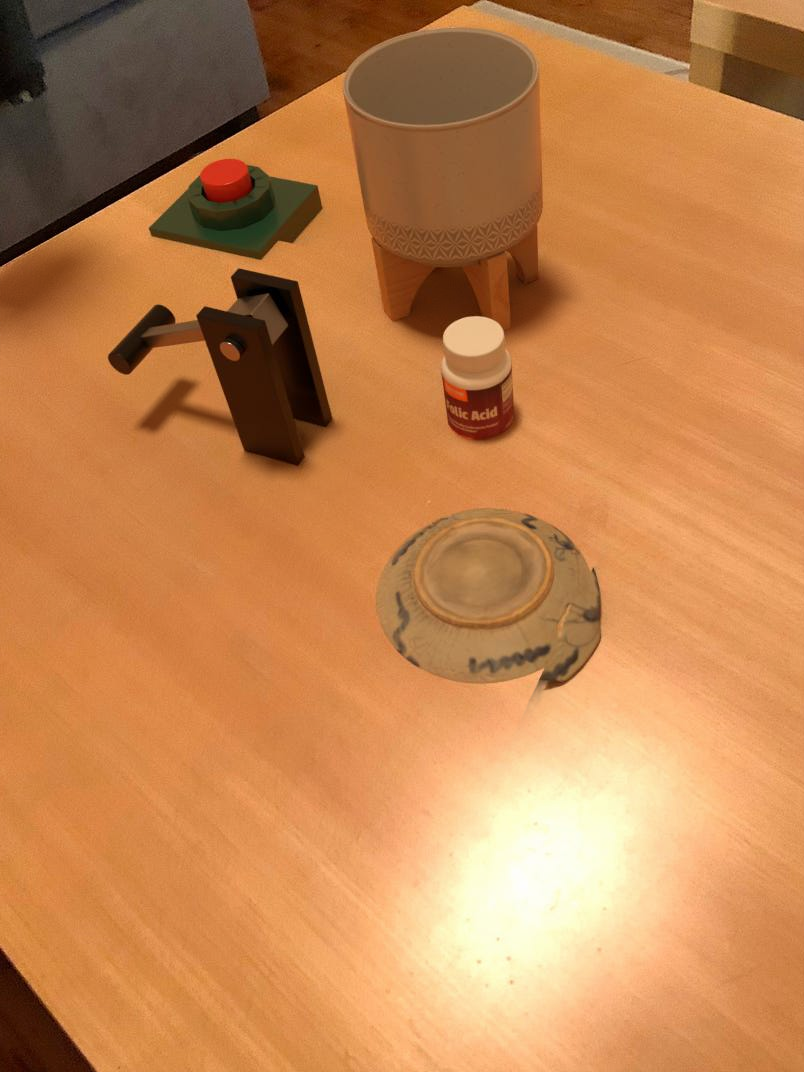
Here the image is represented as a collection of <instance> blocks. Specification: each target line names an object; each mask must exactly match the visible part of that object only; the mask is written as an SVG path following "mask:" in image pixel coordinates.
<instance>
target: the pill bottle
mask: <svg viewBox="0 0 804 1072" xmlns="http://www.w3.org/2000/svg"><path fill="white" fill-rule="evenodd" d="M442 347H443V355H444V356H443V357H442V360H441V364H440V374H441V380H442V381H441V382H442V387H443V389H442V390H443V396H444V402H445V403H444V404H445V409H446V410H445V411H446V419H447V424H448V426H449V428H450V429H451V431H452V432H453V433H455V435H457V436H459V437H461V438H464V439H468V440H474V441H481V440H483V441H484V440H489V439H492V438H495V437H497V436H501V435H502V434H504V433H505V432H507V430H508V429H509V428H510V427H511V425H512V424H513V422H514V421H515V414H516V413H515V402H514V383H513V361H512V358H511V357H512V356H511V355H510V353H509V351H508V350H507V348H506V338H505V330H504V331H503V329H502V327H501V326H500V325H499V324H498V323H497V322H496V321H494V320H492V319H490V318H487V317H483V316H479V315H475V316H465V317H462V318H460V319H459V318H458V319H457V320H455V321H453V322H451V324H449V325H448V326H447V327H446V329H445V330H444V332H443V335H442Z"/></svg>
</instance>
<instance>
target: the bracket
mask: <svg viewBox="0 0 804 1072" xmlns="http://www.w3.org/2000/svg"><path fill="white" fill-rule="evenodd" d="M230 280H231V283H232V286H233V290H234V293H235V297H236V300H237V299H239V298H244V297H250V296H256V295H262V294H268V293H269V294H270V296H271V297H272V299H273V301H274V302H275V304H276V306H277V307H278V309H279V310H280V312H281V314H282V315H283V317H284V319H285V320H286V322H287V323H288V326H287V328H286V329H285V330H284V331H283V333H282V334H281V335H280V336H279V338H278V339H277V340H276V341H275V342H274V344H273V345H272V343H271V339H270V336H269V332H268V329H267V326H266V322H265V320H261V319H257V318H252V317H248V316H244V315H240V314H236V313H231V312H227V311H228V310H223V309H219V308H214V307H209V306H206V305H205V306H203V307H202V308H201V309H200V310H199V312H198V313H196V314H195V315H196V316H195V317H196V320H198V322H199V325H200V328H201V331H202V334H203V337H204V339H205V341H204V342H205V345H206V347H207V350H208V353H209V357H210V358H211V361H212V364H213V368H214V370H215V373H216V376H217V379H218V381H219V385H220V387H221V390H222V393H223V396H224V398H225V402H226V404H227V406H228V409H229V412H230V415H231V417H232V420H233V423H234V426H235V429H236V432H237V434H238V438H239V440H240V443H241V445H242V448H243V451H244V452H245V453H251V454H253V455H257V456H261V457H265V458H267V459H271V460H275V461H279V462H281V463H285V464H288V465H292V466H295V467H299V466H300V465H301V463H302V461H303V460H304V459H305V458H306V455H305V451H304V449H303V446H302V445H303V444H302V441H301V439H300V434H299V431H298V429H297V425H296V421H300V422H303V423H307V424H311V425H315V426H318V427H322V428H327V427H328V426H329V424H330V423H331V422H332V420H333V414H332V411H331V407H330V403H329V398H328V395H327V391H326V388H325V383H324V379H323V375H322V372H321V368H320V363H319V359H318V355H317V352H316V348H315V344H314V339H313V336H312V332H311V328H310V325H309V324H310V323H309V320H308V315H307V312H306V308H305V304H304V300H303V296H302V292H301V288H300V284H299V280H294V279H290V278H285V277H280V276H276V275H271V274H266V273H262V272H258V271H254V270H249V269H245V268H239V267H238V268H237V269H236V270H235V271H234V272H233V274H232V275H231V276H230ZM295 420H296V421H295Z"/></svg>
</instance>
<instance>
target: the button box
mask: <svg viewBox="0 0 804 1072" xmlns="http://www.w3.org/2000/svg"><path fill="white" fill-rule="evenodd" d="M246 165H247V167H248V170H249V174H250V178H251V181H252V185H253V188H252V191H251V192H250V193H249V194H248V195H247V196H245V197H243V198H241V199H238V200H236V201H232V202H224V203H217V202H212V201H209V200H208V199H207V197H206V194H205V191H204V188H203V185H202V181H201V178H200V174H199V175H198V176H197V177H196V178H195V179H194V180H193V181H192V182H191V183H190V184H189V185H188V188H187V189H186V190H185V191H184V192H183V193H182V194H181V195H180V196H178V198H177V199H176V200H175V201H174V202H173V203H172V204H171V205H170V206H169V207H168V208H167V209H166V210H165V211H164V212H163V213H162V214H161V215H160V216H159V217H158V218H157V219H156V220H155V221H154V222H153V223H152V224H151V225H150V226H149V227H148V231H149V233H150V236H151V237H153V238H158V239H163V240H168V241H172V242H177V243H182V244H186V245H189V246H195V247H200V248H203V249H209V250H213V251H217V252H222V253H227V254H232V255H237V256H241V257H245V258H250V259H254V260H258V261H259V260H260V261H261V260H263V258H264V257H265V256H266V255H267V254H268V253H269V251H270V250H271V249H272V248H273V247H274V246H275V245H276V244H277V242H278V241H279V242H283V243H288V244H293V243H294V242H295V240H296V239H297V238H298V237H299V236H300V235H301V233H303V231H304V230H305V229H306V228H307V227H308V225H310V224H311V222H312V221H313V220H314V219H315V218H316V217H317V215H318V214H319V213H320V212H321V211H322V209H323V203H322V200H321V195H320V191H319V187H318V184H312V183H307V182H301V181H297V180H291V179H286V178H282V177H275V176H270V175H269V174H268V173H266V172H265V171H264V170H263V169H261V167H260V166H255V165H252V164H251V165H250V164H246Z"/></svg>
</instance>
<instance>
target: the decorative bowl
mask: <svg viewBox="0 0 804 1072" xmlns="http://www.w3.org/2000/svg"><path fill="white" fill-rule="evenodd" d="M600 594H601V590H600V583H599V579H598V575H597V572H596V570H595V568H594V566H592V569H590V566H589V564H588V561H587V560H586V558H585V557H584V555H583V553H582V551H581V550H580V548H579V547H578V546H577V545H576V543H575V542H574V541H573V540H572V539H571V538H570V537H569V536H568V535H567V534H565V533H564V532H563V531H562V530H560V529H558V528H557V527H556V526H554V525H553V524H551V523H549V522H547V521H546V520H544V519H542V518H539V517H536V516H534V515H531V514H528V513H525V512H520V511H516V510H510V509H505V508H504V509H503V508H487V507H486V508H474V509H467V510H461V511H457V512H454V513H452V514H448V515H445V516H443V517H440V518H437V519H435V520H434V521H432V522H431V524H428V525H426V526H424V527H422V528H420V529H418V530H416V531H415V532H414V533H412V534H411V536H409V537H408V538H407V539H405V541H404V542H402V543H401V545H400V546H399V547H398V548H396V550H395V551H394V552H393V554H392V555H391V556H390V558H389V559H388V561H387V562H386V564H385V566H384V567H383V570H382V571H381V573H380V575H379V579H378V581H377V585H376V591H375V607H376V608H375V610H376V611H375V612H376V617H377V620H378V623H379V625H380V628H381V629H382V631H383V633H384V636H385V637H386V638H387V640H388V641H389V643H390V644H391V645H392V647H393V648H394V649H395V650H396V652H398V654H400V656H402V657H403V658H404V659H405V660H406V661H408V662H409V663H411V664H412V665H414V666H415V667H417V668H418V669H420V670H422V671H424V672H426V673H427V674H430V675H432V676H435V677H439V678H441V679H444V680H447V681H448V680H449V681H452V682H456V683H463V684H473V685H474V684H475V685H476V684H477V685H485V684H497V683H504V682H508V681H514V680H517V679H521V678H525V677H527V676H530V675H533V674H535V673H537V672H539V671H542V670H543V671H542V673H541V674H540V677H539V680H538V681H540V680H541V681H547V682H555V683H556V682H557V683H558V682H559V683H563V682H567V681H568V680H569V679H570V678H572V676H574V675H575V674H576V673H577V672H578V671H579V670H580V669H581V668H583V666H584V665H585V664H586V662H587V661H589V658H590V657H591V656H592V654H593V652H594V651H595V650H596V649H597V646H598V644H599V642H600V640H601V636H602V629H601V623H600V610H601V595H600Z"/></svg>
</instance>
